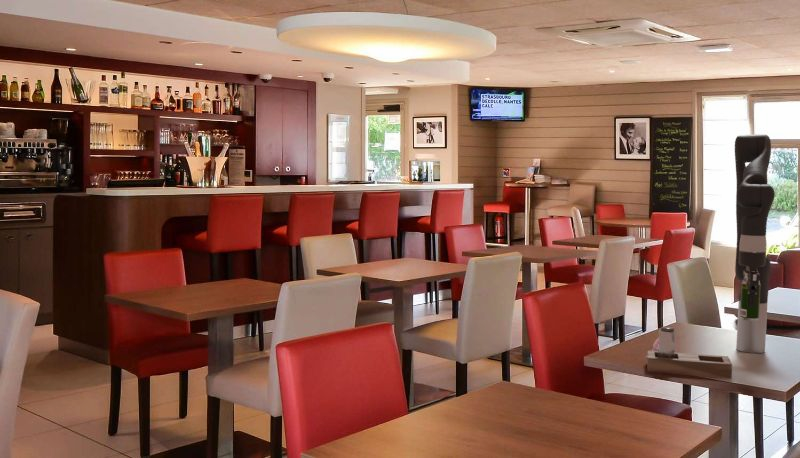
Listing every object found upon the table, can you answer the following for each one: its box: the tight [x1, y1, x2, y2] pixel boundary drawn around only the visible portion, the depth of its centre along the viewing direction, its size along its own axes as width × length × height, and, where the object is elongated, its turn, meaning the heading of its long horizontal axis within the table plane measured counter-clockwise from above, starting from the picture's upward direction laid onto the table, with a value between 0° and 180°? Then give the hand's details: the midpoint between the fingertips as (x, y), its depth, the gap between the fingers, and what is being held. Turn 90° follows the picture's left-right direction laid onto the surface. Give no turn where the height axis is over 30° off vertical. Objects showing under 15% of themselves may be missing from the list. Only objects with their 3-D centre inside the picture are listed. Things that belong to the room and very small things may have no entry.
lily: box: [646, 337, 659, 359], centre depth 271 cm, size 12×12×10 cm
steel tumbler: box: [658, 326, 676, 359], centre depth 255 cm, size 5×5×13 cm
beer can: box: [740, 280, 761, 321], centre depth 251 cm, size 5×5×12 cm
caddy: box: [646, 350, 733, 379], centre depth 253 cm, size 11×24×5 cm, turn 74°
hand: (749, 304), depth 251 cm, fingers closed on beer can, 5 cm apart
